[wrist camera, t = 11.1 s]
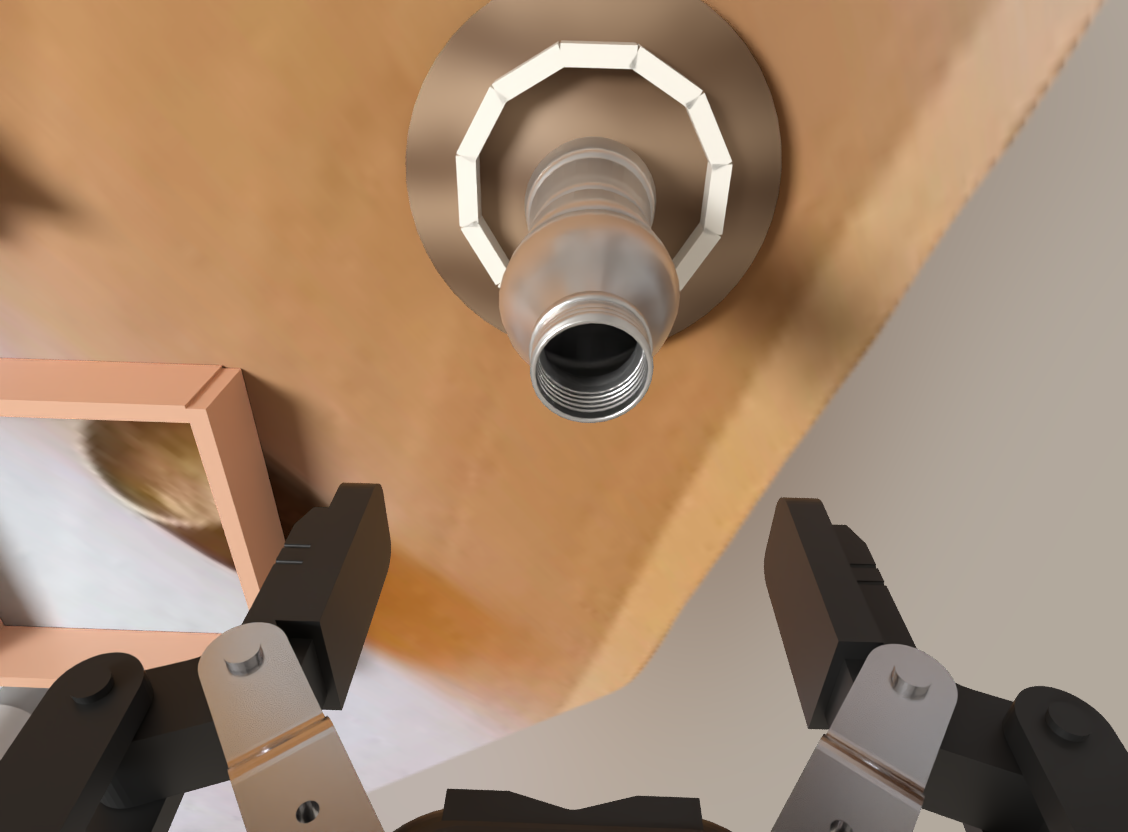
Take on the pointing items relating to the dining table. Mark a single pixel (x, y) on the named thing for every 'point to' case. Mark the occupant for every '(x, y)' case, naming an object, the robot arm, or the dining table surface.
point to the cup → (16, 711)
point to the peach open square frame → (229, 464)
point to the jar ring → (595, 57)
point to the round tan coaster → (594, 133)
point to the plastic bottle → (590, 281)
